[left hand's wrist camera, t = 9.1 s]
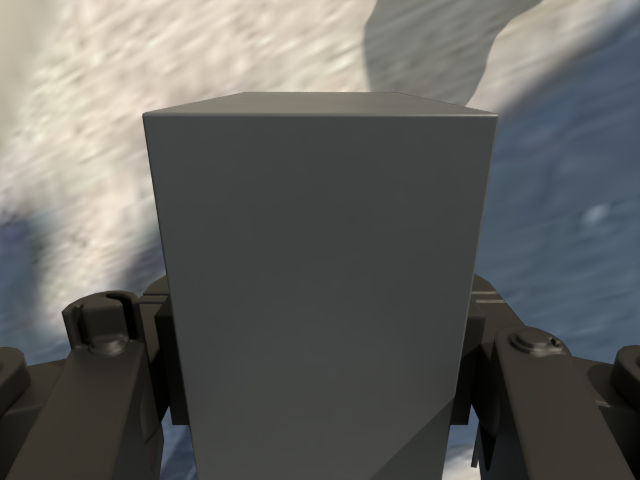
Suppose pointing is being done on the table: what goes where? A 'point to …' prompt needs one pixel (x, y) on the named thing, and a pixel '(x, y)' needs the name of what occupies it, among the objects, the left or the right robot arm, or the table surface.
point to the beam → (320, 276)
